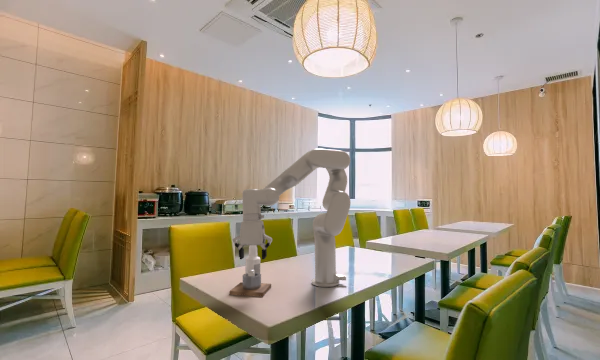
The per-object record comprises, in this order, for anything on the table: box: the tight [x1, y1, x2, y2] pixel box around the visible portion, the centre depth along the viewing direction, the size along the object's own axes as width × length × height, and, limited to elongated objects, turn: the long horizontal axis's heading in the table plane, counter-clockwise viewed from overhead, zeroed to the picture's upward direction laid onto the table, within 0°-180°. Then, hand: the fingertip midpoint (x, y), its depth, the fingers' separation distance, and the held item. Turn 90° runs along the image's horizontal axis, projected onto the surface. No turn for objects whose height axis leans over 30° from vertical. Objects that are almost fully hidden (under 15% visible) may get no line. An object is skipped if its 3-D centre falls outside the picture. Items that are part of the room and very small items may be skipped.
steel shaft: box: [248, 269, 255, 276], centre depth 117 cm, size 3×3×7 cm
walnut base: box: [228, 281, 272, 297], centre depth 117 cm, size 14×12×2 cm
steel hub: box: [242, 272, 262, 290], centre depth 117 cm, size 7×7×5 cm
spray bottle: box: [244, 245, 261, 274], centre depth 129 cm, size 7×7×18 cm
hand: (252, 258), depth 118 cm, fingers open, 9 cm apart
